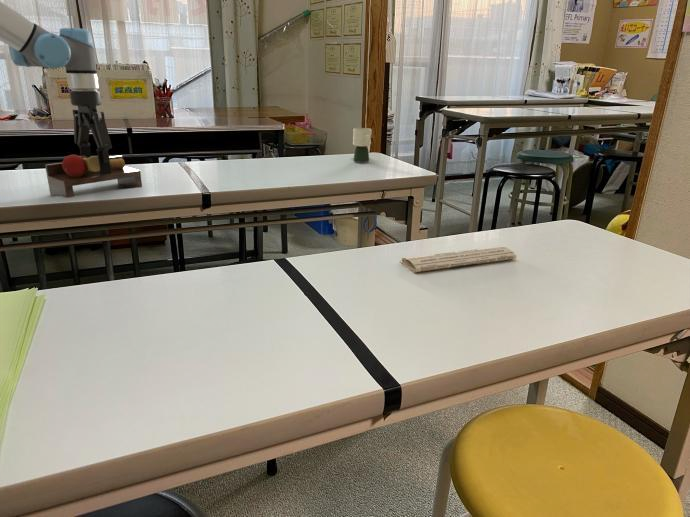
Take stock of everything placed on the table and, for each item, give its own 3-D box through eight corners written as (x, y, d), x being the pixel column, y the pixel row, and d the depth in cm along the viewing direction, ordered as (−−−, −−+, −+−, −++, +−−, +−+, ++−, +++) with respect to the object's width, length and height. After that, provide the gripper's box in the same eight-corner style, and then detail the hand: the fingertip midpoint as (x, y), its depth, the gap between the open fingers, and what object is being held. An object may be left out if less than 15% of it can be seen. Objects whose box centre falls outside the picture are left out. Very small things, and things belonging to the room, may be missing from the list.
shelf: (67, 201, 140) (62, 170, 136) (50, 194, 146) (44, 164, 143) (142, 188, 155) (139, 160, 152) (123, 182, 162) (120, 155, 159)
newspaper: (415, 274, 98) (416, 265, 98) (398, 261, 104) (399, 253, 104) (515, 260, 107) (517, 252, 106) (494, 249, 113) (495, 241, 112)
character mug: (375, 164, 202) (377, 130, 198) (359, 165, 199) (361, 131, 195) (362, 159, 211) (363, 126, 207) (347, 160, 208) (348, 127, 204)
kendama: (112, 170, 158) (54, 171, 143) (114, 150, 156) (56, 149, 141) (128, 178, 155) (71, 180, 140) (131, 158, 153) (73, 157, 137)
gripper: (118, 91, 136) (129, 174, 143) (79, 88, 150) (91, 165, 157) (89, 92, 130) (102, 178, 138) (52, 89, 144) (66, 168, 152)
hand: (96, 171), depth 147 cm, fingers open, 10 cm apart
